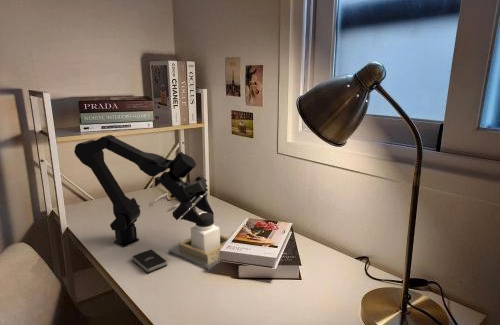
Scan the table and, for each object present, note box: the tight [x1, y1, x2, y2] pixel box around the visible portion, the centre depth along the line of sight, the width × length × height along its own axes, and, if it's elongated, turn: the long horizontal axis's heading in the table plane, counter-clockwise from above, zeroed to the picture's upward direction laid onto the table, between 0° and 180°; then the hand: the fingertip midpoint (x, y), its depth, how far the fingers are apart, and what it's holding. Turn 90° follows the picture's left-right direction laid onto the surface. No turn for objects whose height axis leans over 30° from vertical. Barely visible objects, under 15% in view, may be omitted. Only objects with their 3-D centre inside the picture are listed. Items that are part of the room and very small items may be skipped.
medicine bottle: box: [190, 211, 221, 252], centre depth 118 cm, size 7×7×12 cm
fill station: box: [168, 234, 229, 270], centre depth 120 cm, size 18×18×3 cm
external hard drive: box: [131, 248, 168, 275], centre depth 112 cm, size 7×11×2 cm, turn 42°
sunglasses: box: [149, 191, 181, 213], centre depth 161 cm, size 14×15×5 cm
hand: (209, 219), depth 117 cm, fingers open, 8 cm apart
